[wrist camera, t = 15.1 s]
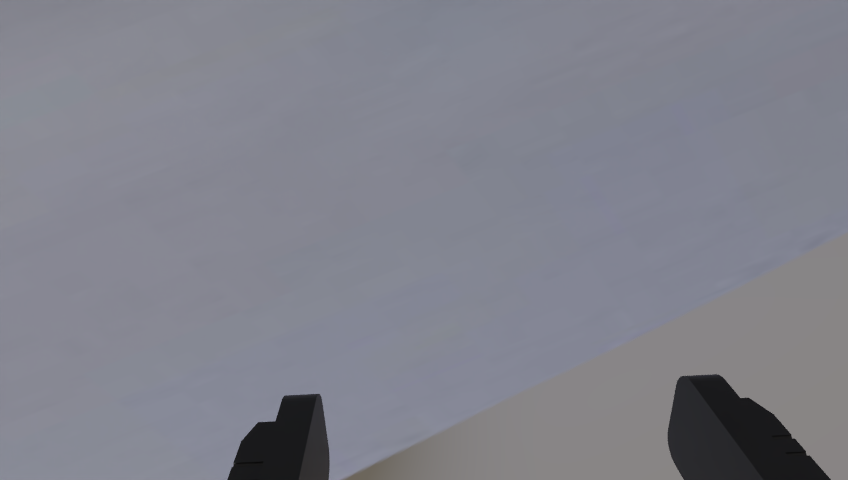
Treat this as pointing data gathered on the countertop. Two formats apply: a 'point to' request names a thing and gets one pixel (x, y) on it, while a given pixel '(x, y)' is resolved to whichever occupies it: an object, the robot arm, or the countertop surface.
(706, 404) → the robot arm
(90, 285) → the countertop surface
